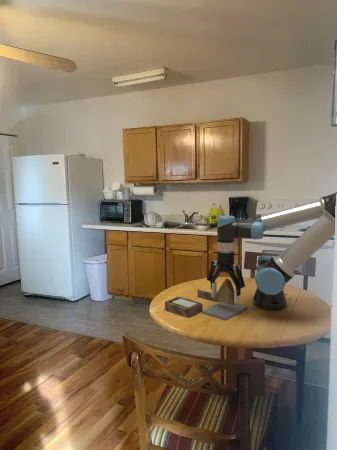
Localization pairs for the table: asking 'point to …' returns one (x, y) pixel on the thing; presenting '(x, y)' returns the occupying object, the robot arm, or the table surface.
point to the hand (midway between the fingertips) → (225, 299)
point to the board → (224, 310)
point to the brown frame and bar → (192, 310)
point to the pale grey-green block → (184, 303)
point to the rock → (226, 293)
